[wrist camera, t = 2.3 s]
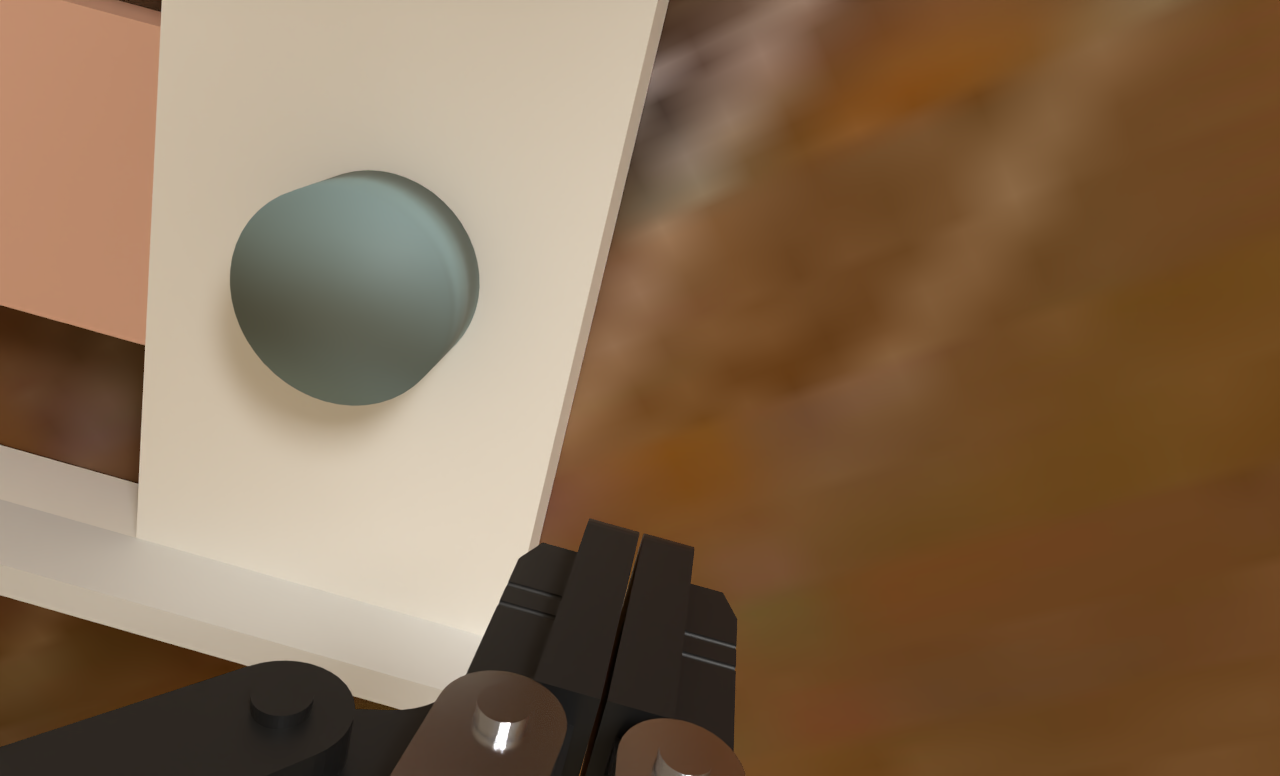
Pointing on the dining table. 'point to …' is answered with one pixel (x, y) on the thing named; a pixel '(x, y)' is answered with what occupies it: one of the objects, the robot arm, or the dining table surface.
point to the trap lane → (224, 360)
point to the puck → (354, 286)
